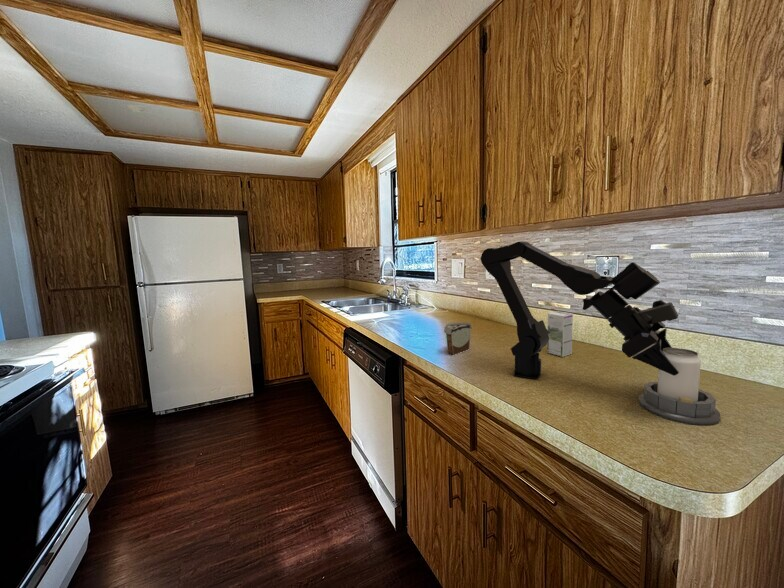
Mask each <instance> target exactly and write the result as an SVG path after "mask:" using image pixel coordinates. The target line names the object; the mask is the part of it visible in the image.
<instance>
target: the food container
mask: <svg viewBox="0 0 784 588" xmlns="http://www.w3.org/2000/svg"><path fill="white" fill-rule="evenodd" d="M472 328H473V326H472V324H471V322H451V323H447V324H446V325H445V327H444V329H443V333H444V334H445V337H446V346H447V353H448V354H449V355H450V354H451V355H450V356H452V355H454V356H456V355H455V354H457V355H459V354H458V353H460V352H462V353H464V352H463V351H465V352H467V351H466V350H468V349H469V350H471V349H470V346H471V345H470V344H471V330H472ZM469 350H468V351H469ZM460 354H461V353H460Z"/></svg>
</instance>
